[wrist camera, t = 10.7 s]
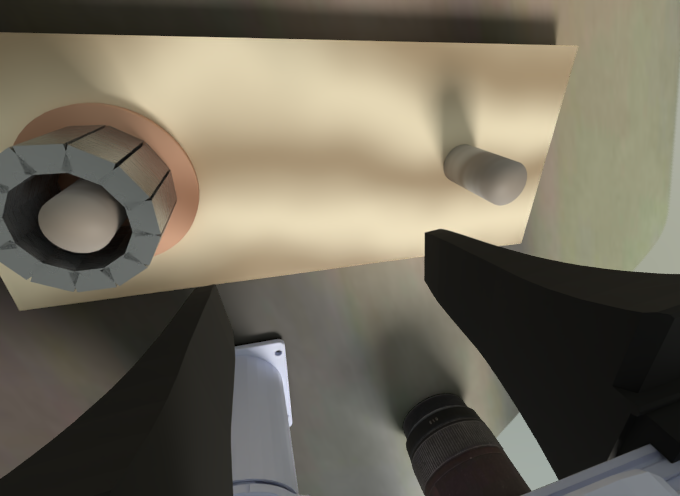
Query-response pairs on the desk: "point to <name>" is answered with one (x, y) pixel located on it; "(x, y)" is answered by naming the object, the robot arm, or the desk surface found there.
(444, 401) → the camera lens
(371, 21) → the desk surface
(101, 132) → the collar
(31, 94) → the stand board
